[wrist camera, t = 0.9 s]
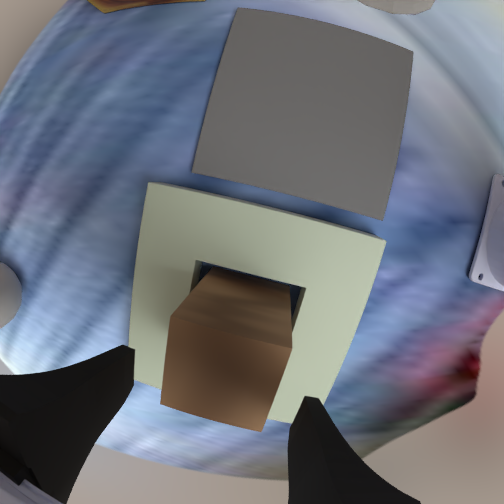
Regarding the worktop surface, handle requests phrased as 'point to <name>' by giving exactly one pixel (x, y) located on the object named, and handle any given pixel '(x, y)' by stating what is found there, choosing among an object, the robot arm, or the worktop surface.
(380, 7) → the french press
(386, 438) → the worktop surface
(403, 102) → the rubber mat
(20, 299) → the donut
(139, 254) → the pocket holder
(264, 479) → the worktop surface
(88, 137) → the worktop surface
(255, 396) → the walnut block
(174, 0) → the candy box
